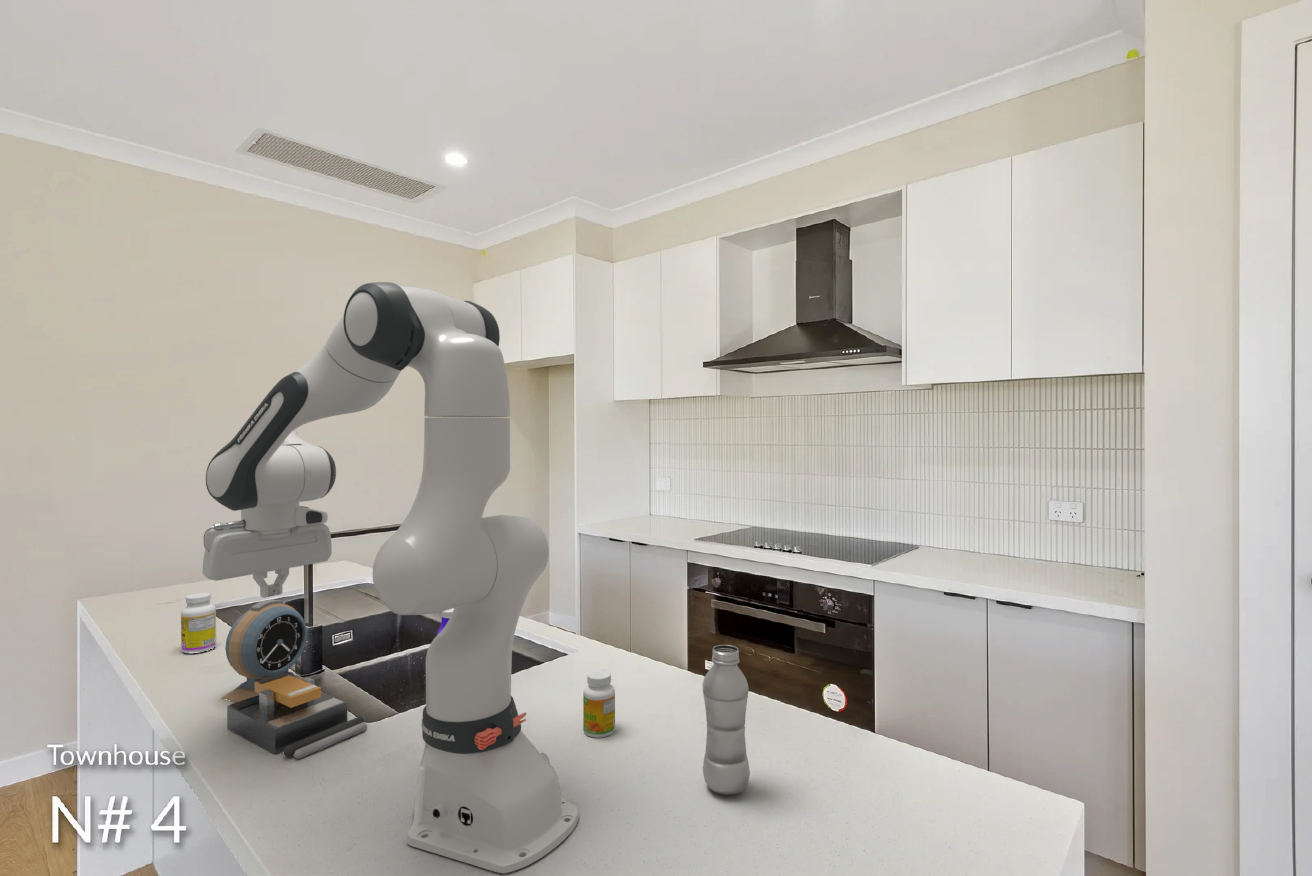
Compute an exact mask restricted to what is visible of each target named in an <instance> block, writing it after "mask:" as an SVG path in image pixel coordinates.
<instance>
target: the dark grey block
mask: <svg viewBox="0 0 1312 876" xmlns="http://www.w3.org/2000/svg"><path fill="white" fill-rule="evenodd" d="M300 680H303V681H305V682H308V683H310V684H313V685H315V679H314V678H311V677H309V676H303V678H301V679H300ZM348 714H349V713H348V701H345V700H342V699H340V698H338V697H335V696H333V695H330V694H328V693H326V692H323V691H321V697H320V698H317V699H314V700H312V701H309V702H306V703H303V704H300V705H298V706H295V707H292V708H290V707H288V706H286V705H284V704H281V703H279V702H277V701H275V700H274V693H273V692H271V691H269V690H264V691H261V692H259V695H257V696H254V697H251V698H248V699H245V700H242V701H239V702H232V703H230V704H228V705H227V706H226V716H227V719H226V722H227V723H226V728H227V730H228V731H230V732H232V733H234V734H236V735H238V736H240V737H241V738H244V739H245V740H247V741H249V742H250V743H252V744H254V745H256V746H258V747H260V748H262V749H263V750H266V751H267V752H270V753H272V754H273V755H274V756H276V755H278V754H281V753H284V749H285V748H286V747H287V746H288V745H290V744H293V743H295V742H298V741H300V740H303V739H305V738H308V737H310V736H312V735H315V734H317V733H320V732H322V731H325V730H327V729H330V728H332V727H335V726H337V725H340V724H342V723H345V722H347V721H349V720H348Z"/></svg>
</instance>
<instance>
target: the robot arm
mask: <svg viewBox="0 0 1312 876" xmlns="http://www.w3.org/2000/svg"><path fill="white" fill-rule="evenodd" d="M341 316H342V317H340V319H339V321H337V324H336V325H335V327H334V328H333V329H332V331H331V333H330V335H329V336H328V338H327V340H326V342H325V344H324V345H323V346H322V348H321V349H320V350H319V351H318V352H317V353H316V354H315V355H314V356H313V357H312V358H311V359H310V360H309V361H308V362H306V363H305V364H303V365H302V366H301V367H300V368H298V369H297V370H295V371H294V372H291V373H289V374H288V375H285V376H284V377H282V378H281V379H280V380H279V381H278V382H277V383H276V384H275V385H274V386H273V387H272V389H270V391H269V392H268V393H267V395H266V396H264V398H263V399H262V401H261V402H260V403H259V405H258V406H257V407H256V409H255V410H254V411H253V412H252V414H251V415H250V416H249V418H248V419H247V420H246V421H245V423H244V424H243V426H241V428H240V429H239V430H238V431H237V433H236V434H235V436H234V437H232V439H231V440H230V441H229V442H228V443H226V444H225V445H224V446H223V447H222V448H221V449H219V450H218V452H216V454H214V455H213V457H212V459H211V460H210V461H209V463H208V464H207V465H208V466H207V467H206V473H205V486H206V489H207V492H208V494H209V496H211V497H212V498H213V500H215V501H216V503H217V502H218V503H219V504H220V505H221V506H223V507H225V508H226V509H229V510H231V511H232V512H237V511H240V520H236V521H235V520H234V521H229V522H219V523H218V522H217V523H215V524H213V525H212V526H210V527H208V528H207V529H206V530H205V531H204V533H203V537H202V538H203V547H204V554H203V559H202V575H203V576H204V577H205V578H207V579H208V580H211V581H215V582H216V581H223V580H224V581H225V580H228V579H234V578H240V577H245V576H250V575H252V579H253V580H254V582H255V583H256V584H257V585H258V587H259V590H260V591H259V593H260V594H259V595H260V597H261V598H264V599H266V598H269V597H275V596H281V595H282V594H283V585H284V583H285V581H287V578H288V577H289V575H290V568H296V567H301V566H306V565H313V564H319V563H323V562H324V563H325V562H328V560H329V559H330V558H331V556H332V553H333V551H332V550H333V549H332V548H333V547H332V536H331V530H330V527H329V526H328V525H327V524H326V523H327V522H328V520H329V519H328V518H329V517H328V513H327V512H326V511H325V510H324V511H323V510H319V509H314V508H310V507H308V506H303V505H302V506H301V505H300V503H301V502H309V501H310V502H311V501H315V500H319V499H322V498H324V497H325V496H327V495H328V494H329V492H331V490H332V488H333V486H334V485H335V482H336V478H337V467H336V462H335V460H334V458H333V456H332V455H331V453H330V452H328V450H326V449H325V448H323V447H322V446H317V445H314V444H312V443H310V442H308V441H306V440H304V439H302V438H301V437H300V436H299V435H298V432H297V430H296V429H298V428H300V427H302V426H303V425H306V424H308V423H312V422H315V421H318V420H323V419H327V418H330V417H337V416H341V415H347V414H352V413H358V412H362V411H365V410H368V409H371V408H373V407H374V406H375V405H377V404H378V403H379V402H380V401H381V400H382V399H384V397H385V396H386V395H387V394H388V393H389V392H390V390H391V389H392V387H393V385H394V384H395V382H396V381H397V379H398V377H399V376H400V373H401V372H402V371H403V370H404V369H405V368H407V367H409V368H412V369H413V370H415V371H417V372H418V373H419V375H420V376H421V379H422V380H423V383H424V411H423V412H424V414H423V415H424V418H423V419H424V422H423V423H424V427H423V428H424V437H423V438H424V441H423V443H424V444H423V461H422V463H423V464H422V473H421V480H420V483H419V488H418V490H417V493H416V497H415V499H414V501H413V504H412V506H411V508H410V510H409V512H408V514H407V515H406V517H405V519H404V520H403V522H402V523H401V525H400V526H399V527H398V529H397V530H396V531H395V532H394V533H393V534H392V535H391V536H390V537H389V538H388V539H387V540H385V542H384V543H383V544H382V545H381V546H380V548H379V549H378V552H377V553H376V556H375V559H374V563H373V566H372V584H373V587H374V590H375V593H376V595H377V597H378V599H379V600H380V601H381V602H382V604H383V606H385V608H387V609H388V610H389V611H390V612H392V613H393V614H396V615H400V616H413V615H414V616H418V615H420V616H421V615H430V614H439V613H442V611H446V610H449V609H453V608H454V610H453V612H452V615H451V617H450V619H449V621H448V623H447V624H446V626H445V627H444V628H443V630H442V631H441V632H440V633H439V634H438V635H436V636H435V637H434V638H433V640H432V641H431V643H430V644H429V647H428V648H427V651H426V654H425V655H426V657H425V706H424V707H423V710H422V718H421V729H422V730H421V731H422V735H421V736H422V737H421V738H422V740H423V741H424V742H425V743H424V750H423V753H422V758H421V762H420V765H419V768H418V772H417V781H416V791H415V803H414V812H413V815H412V821H413V822H412V824H411V826H410V828H409V830H408V832H407V838H406V844H407V845H409V846H411V847H414V848H417V849H420V850H423V851H427V852H430V853H433V854H435V855H436V854H437V855H440V856H443V857H446V858H449V859H453V860H454V861H455V860H456V861H459V862H462V863H466V864H468V865H472V866H476V867H478V868H481V869H485V870H488V871H491V872H495V873H499V874H508V873H511V872H515V871H517V870H520V869H523V868H525V867H527V866H529V865H531V864H534V863H535V862H537V861H538V860H540V859H541V858H543V857H545V856H546V855H548V854H549V853H550V852H551V851H552V850H555V849H556V847H558V846H559V845H560V844H561V843H562V842H563V841H564V840H566V838H568V837H569V835H571V833H572V832H573V831H574V830H575V828H576V826H577V824H578V822H579V819H580V811H579V809H580V808H579V807H578V806H577V805H575V804H574V803H573V802H570V801H569V800H568V799H566V798H565V797H563V796H562V795H561V788H560V782H559V778H558V774H557V771H556V770H555V768H554V767H553V766H552V765H551V764H550V759H549V756H548V754H546V753H544V752H540V751H539V749H538V748H536V746H535V745H534V744H533V743H532V742H531V740H530V739H529V738H528V737H527V736H526V734H525V732H523V730H522V724H523V723H524V722H526V721H527V718H524V717H526V715H527V712H523V713H521V714H519V712H518V709H517V705H516V702H515V700H514V697H513V696H512V658H513V657H512V656H513V645H514V640H515V639H514V637H515V634H516V629H517V626H518V622H519V619H520V615H521V613H522V609H523V608H524V604H525V602H526V599H527V597H528V595H529V592H530V591H531V589H532V588H533V586H534V584H535V583H536V581H537V580H538V579H539V578H540V576H541V575H542V574H543V572H544V571H545V569H546V567H547V565H548V560H549V555H550V554H549V553H550V551H549V543H548V539H547V535H546V534H545V532H544V530H543V528H542V527H541V526H540V525H539V523H537V522H536V521H535V520H533V519H531V518H529V517H523V516H515V515H507V514H499V515H491V516H486V517H483V515H484V512H485V508H486V506H487V504H488V502H489V500H490V498H491V496H492V495H493V494H494V492H495V491H496V490H498V488H499V487H500V486H502V485H503V483H505V482H506V480H507V478H508V476H509V473H510V471H511V418H510V417H511V405H510V401H511V400H510V390H509V381H508V376H507V369H506V364H505V359H504V355H503V353H502V351H501V348H500V346H499V345H500V338H501V337H500V336H501V335H500V334H501V333H500V329H499V327H500V326H499V324H498V322H497V321H498V320H496V317H495V316H494V315H493V313H492V312H490V311H489V310H488V309H486V308H485V307H483V306H481V305H480V304H478V303H475V302H473V301H470V300H462V299H459V298H457V297H453V296H451V295H448V294H444V293H440V292H438V291H436V290H432V289H428V288H423V287H415V286H408V285H407V286H406V285H398V284H396V283H395V282H388V281H387V282H386V281H385V282H383V281H382V282H381V281H378V282H376V281H375V282H367V283H364V284H362V285H359V287H357V288H356V289H355V290H354V291H353V293H352V294H351V295H350V297H349V298H348V300H347V302H346V305H345V308H344V311H343V315H341ZM268 572H274V573H275V574H276V578H275V580H274V581H273V583H272V584H268V582H266V580H265V579H267V578H268Z"/></svg>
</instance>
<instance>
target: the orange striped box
mask: <svg viewBox="0 0 1312 876" xmlns="http://www.w3.org/2000/svg"><path fill="white" fill-rule="evenodd" d="M264 690H269V691H271V692H273V693H274V700H275V701H277V702H279V703H281V704H284V705H286V706H288V707H290V708H292V707H295V706H298V705H300V704H303V703H306V702H309V701H312V700H314V699H317V698H320V697H321V692H322V687H320V686H317V685H315V684H314V685H313V684H310V683H308V682H305V681H303V680H300V679H298V678H295V677H293V676H290V675H288V674H285V673H283V674H280V675H277V676H274V677H270V678H267V679H264V680H261V681H258V682H255V692H257V693H259V692H261V691H264Z"/></svg>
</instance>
